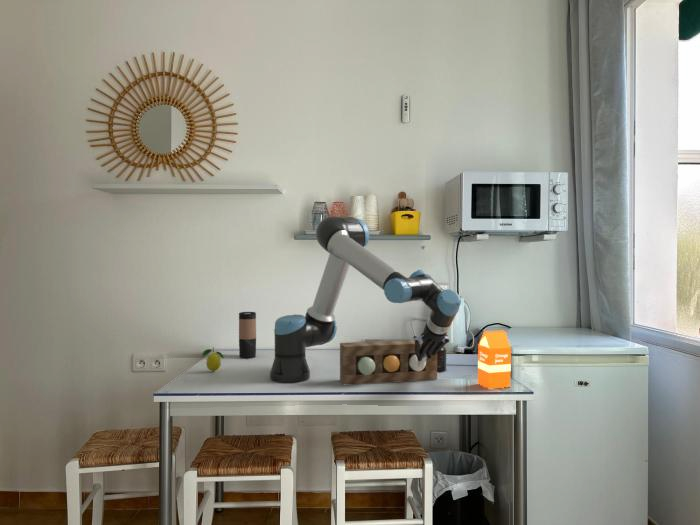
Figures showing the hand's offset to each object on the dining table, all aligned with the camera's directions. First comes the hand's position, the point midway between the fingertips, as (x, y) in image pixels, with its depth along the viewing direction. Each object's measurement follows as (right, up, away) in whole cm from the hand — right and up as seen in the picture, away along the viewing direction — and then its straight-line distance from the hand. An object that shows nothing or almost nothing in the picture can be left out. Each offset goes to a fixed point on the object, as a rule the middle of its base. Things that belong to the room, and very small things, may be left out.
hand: (419, 364), depth 189 cm
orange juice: (+26, -7, -3) cm, 28 cm away
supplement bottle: (+10, -6, +20) cm, 23 cm away
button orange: (-11, -3, +2) cm, 11 cm away
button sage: (-20, -3, -3) cm, 20 cm away
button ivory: (-1, -3, +3) cm, 4 cm away
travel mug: (-72, -5, +42) cm, 84 cm away
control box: (-11, -7, +4) cm, 14 cm away
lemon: (-80, -6, +15) cm, 82 cm away
